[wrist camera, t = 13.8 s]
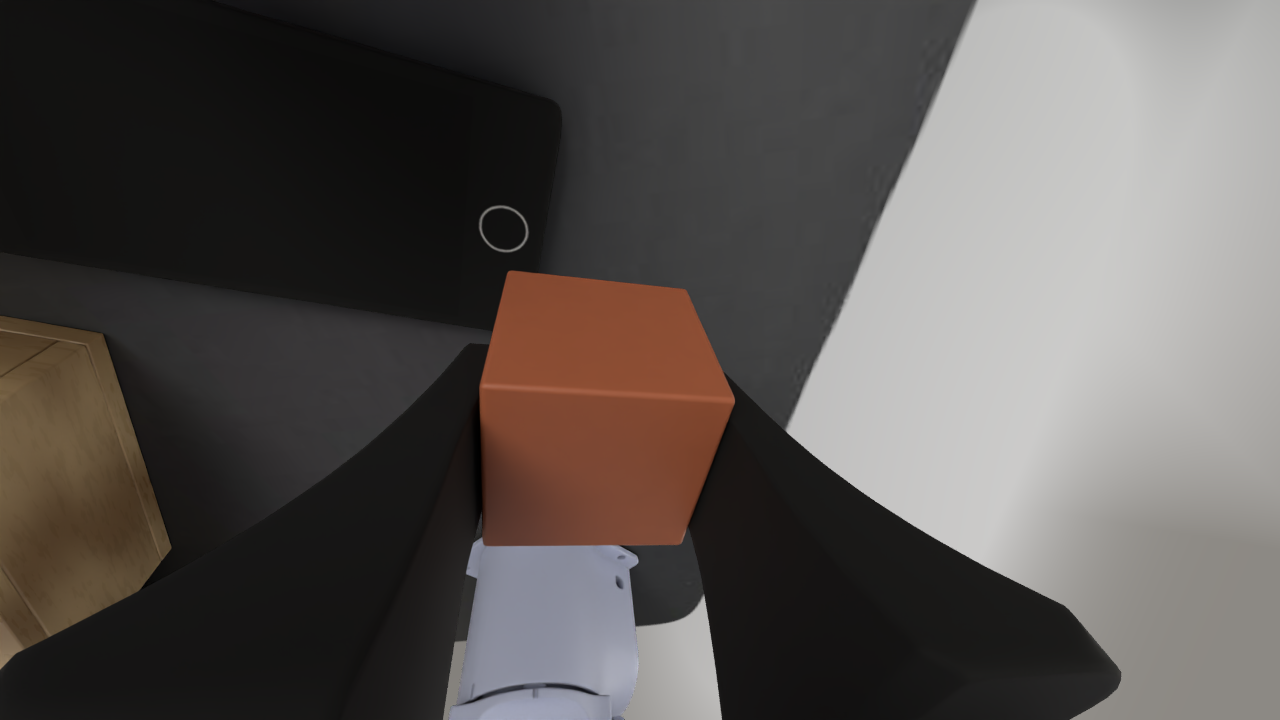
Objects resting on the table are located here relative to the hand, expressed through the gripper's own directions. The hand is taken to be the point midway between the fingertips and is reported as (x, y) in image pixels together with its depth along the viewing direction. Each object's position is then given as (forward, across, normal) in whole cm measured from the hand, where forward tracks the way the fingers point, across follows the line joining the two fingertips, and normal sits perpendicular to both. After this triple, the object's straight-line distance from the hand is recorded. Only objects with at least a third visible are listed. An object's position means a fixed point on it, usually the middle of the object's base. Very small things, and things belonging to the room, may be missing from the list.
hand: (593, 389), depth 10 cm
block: (+1, 0, 0) cm, 1 cm away
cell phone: (+10, +10, -1) cm, 14 cm away
